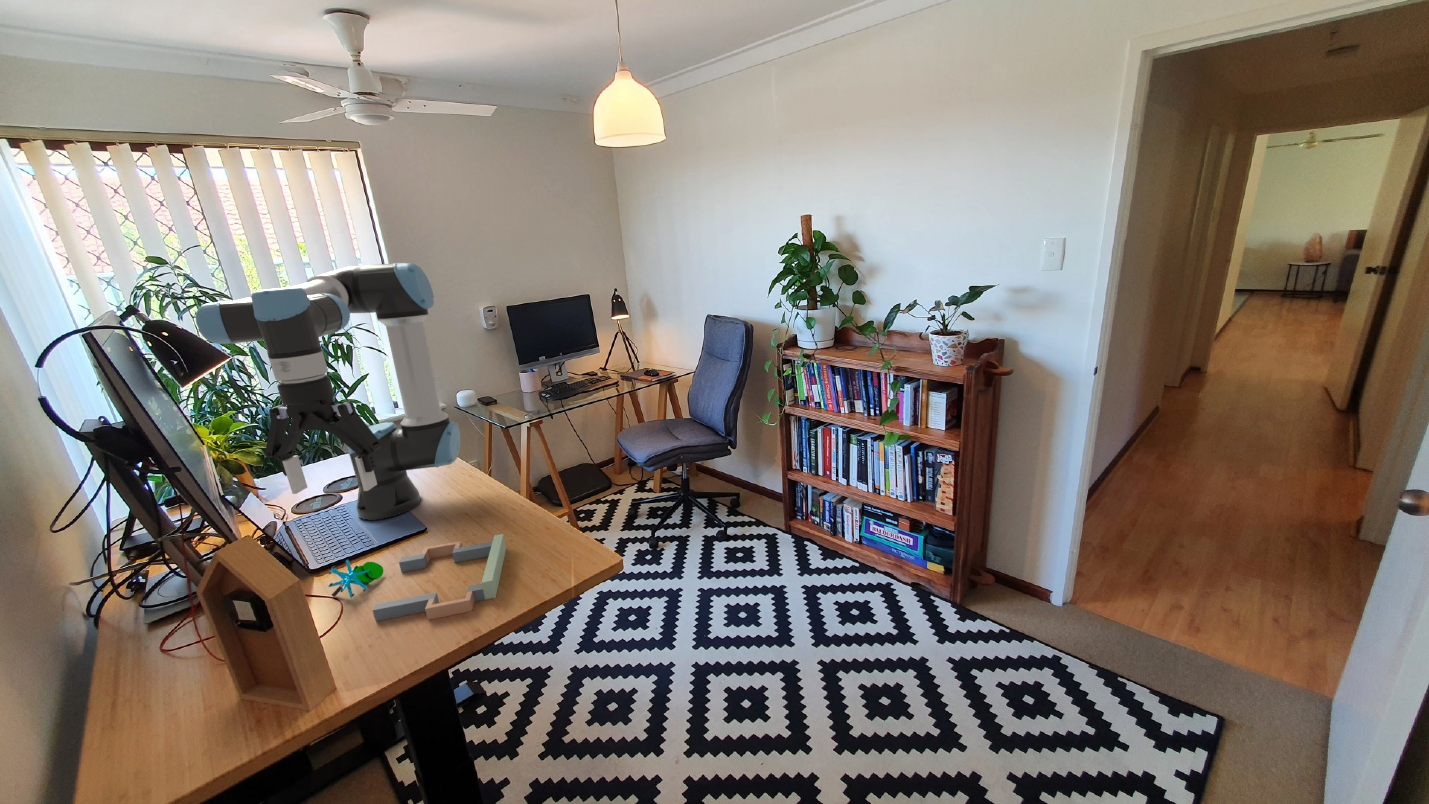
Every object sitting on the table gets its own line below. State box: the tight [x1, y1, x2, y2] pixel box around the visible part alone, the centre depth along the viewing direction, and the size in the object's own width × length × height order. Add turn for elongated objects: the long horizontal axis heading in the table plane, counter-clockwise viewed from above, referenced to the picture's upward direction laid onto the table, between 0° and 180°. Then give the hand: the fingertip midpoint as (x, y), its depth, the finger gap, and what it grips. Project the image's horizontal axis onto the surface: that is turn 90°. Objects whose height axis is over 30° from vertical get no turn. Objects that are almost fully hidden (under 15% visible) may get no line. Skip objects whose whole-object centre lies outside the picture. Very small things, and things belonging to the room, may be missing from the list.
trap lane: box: [372, 533, 507, 622], centre depth 115 cm, size 25×22×4 cm
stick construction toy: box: [328, 559, 384, 598], centre depth 114 cm, size 12×7×8 cm
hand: (335, 489), depth 100 cm, fingers open, 13 cm apart
